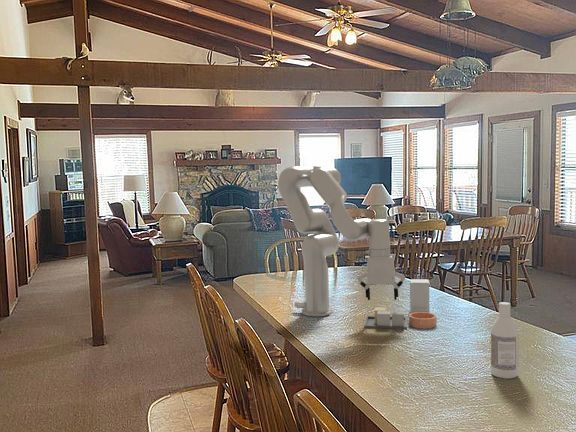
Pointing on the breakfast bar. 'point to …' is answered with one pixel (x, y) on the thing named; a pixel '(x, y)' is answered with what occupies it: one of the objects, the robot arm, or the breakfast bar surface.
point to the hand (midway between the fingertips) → (382, 299)
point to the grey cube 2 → (397, 318)
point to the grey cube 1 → (383, 318)
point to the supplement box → (419, 295)
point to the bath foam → (504, 344)
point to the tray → (371, 324)
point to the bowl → (422, 320)
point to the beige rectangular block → (377, 311)
